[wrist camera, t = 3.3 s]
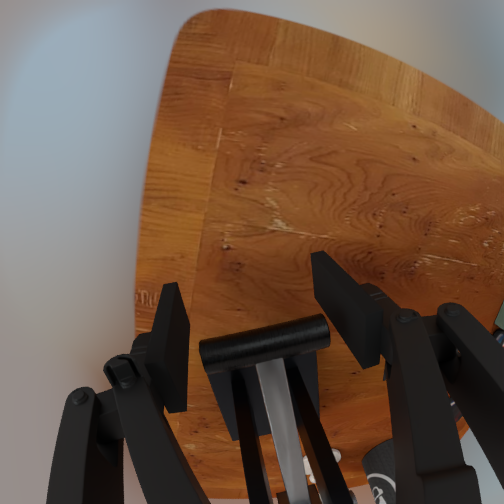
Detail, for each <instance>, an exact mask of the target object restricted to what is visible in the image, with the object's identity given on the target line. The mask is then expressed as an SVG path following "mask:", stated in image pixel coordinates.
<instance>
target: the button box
mask: <svg viewBox="0 0 504 504" xmlns="http://www.w3.org/2000/svg"><path fill="white" fill-rule="evenodd" d="M495 324H496V325H498V326H499V327H500V328H501V329H503V330H504V302H503V304H502V306H501V309H500V311H499V313H498V316H497V318H496V320H495Z"/></svg>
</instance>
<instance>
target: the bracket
mask: <svg viewBox="0 0 504 504" xmlns="http://www.w3.org/2000/svg"><path fill="white" fill-rule="evenodd" d="M199 344H200V342H199ZM199 353H200V346H199ZM200 356H201V354H200ZM283 360H284V365H285V370H286V375H287V380H288V385H289V390H290V396H291V401H292V406H293V411H294V416H295V421H296V426H297V429H298V432H299V435H300V438H301V441H302V444H303V447H304V450H305V453H306V456H307V459H308V461H309V464H310V467H311V470H312V473H313V476H314V479H315V482H316V485H317V488H318V491H319V494H320V497H321V499H322V502H323V504H357V500H356V497H355V495H354V493H353V492H352V491H351V490H348V487H347V485H346V482H345V480H344V478H343V475H342V473H341V470H340V468H339V466H338V463H337V461H336V458H335V456H334V453H333V451H332V449H331V446H330V444H329V441H328V439H327V437H326V434H325V432H324V429H323V427H322V424H321V422H320V413H319V391H318V372H317V356H316V351H313V352H309V353H305V354H301V355H297V356H293V357H289V358H285V359H283ZM207 376H208V378H209V381H210V384H211V387H212V389H213V392H214V395H215V397H216V400H217V403H218V405H219V408H220V411H221V413H222V416H223V418H224V421H225V423H226V426H227V428H228V431H229V433H230V436H231V438H232V441H236V440H239V442H240V448H241V455H242V461H243V467H244V473H245V479H246V485H247V491H248V497H249V502H250V504H273V499H272V495H271V491H270V486H269V482H268V477H267V473H266V468H265V464H264V459H263V455H262V450H261V446H260V441H259V436H262V435H267V434H271V429H270V425H269V421H268V417H267V412H266V408H265V404H264V400H263V396H262V391H261V387H260V383H259V378H258V374H257V370H256V365H255V366H251V367H246V368H241V369H236V370H231V371H226V372H221V373H215V374H210V375H208V374H207Z"/></svg>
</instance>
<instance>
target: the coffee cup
mask: <svg viewBox="0 0 504 504" xmlns="http://www.w3.org/2000/svg"><path fill="white" fill-rule="evenodd" d="M362 465H363V468H364V470H365V473H366V476H367V479H368V482H369V485H370V488H371V491H372V493H373V496H374V499H375V502H376V504H396V491H395V464H394V448H393V439H390V440H387V441H385V442H383V443H381V444H379V445H378V446H376V447H375V448H373V449H372V450H371V451H370V452H368V453H367V454H366V456H365V457H364V458H363V460H362Z"/></svg>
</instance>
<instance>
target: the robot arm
mask: <svg viewBox="0 0 504 504" xmlns="http://www.w3.org/2000/svg"><path fill="white" fill-rule="evenodd" d="M310 254H311V264H312V274H313V284H314V295H315V299H316V300H317V301H318V303H319V304H320V306H321V307H322V309H323V310H324V312H325V313H326V315H327V316H328V318H329V319H330V321H331V322H332V324H333V325H334V326H335V328H336V329H337V331H338V332H339V334H340V335H341V337H342V338H343V340H344V341H345V343H346V344H347V346H348V347H349V349H350V350H351V352H352V353H353V355H354V356H355V358H356V359H357V361H358V362H359V364H360V365H361V367H362V368H363V370H364V369H366V368H369V367H372V366H375V365H378V364H379V363H380V353H381V354H382V356H383V357H384V358H385V369H384V376H383V381H385V380H386V381H387V389H388V396H389V405H390V414H391V424H392V435H393V448H394V464H395V491H396V504H482V503H481V497H480V490H479V484H478V479H477V475H476V471H475V469H474V468H473V467H472V466H469V465H466V464H465V461H464V457H463V452H462V448H461V443H460V439H459V435H458V430H457V426H456V422H455V419H454V415H453V411H452V407H451V404H450V400H449V397H448V393H449V394H450V396H451V398H452V399H453V401H454V402H455V404H456V406H457V407H458V409H459V411H460V412H461V414H462V415H463V417H464V419H465V420H466V422H467V424H468V425H469V427H470V429H471V431H472V432H473V434H474V436H475V437H476V439H477V441H478V443H479V444H480V446H481V448H482V450H483V452H484V453H485V455H486V457H487V459H488V460H489V463H490V464H491V466H492V468H493V470H494V472H495V474H496V476H497V478H498V480H499V482H500V484H501V485H502V488H503V489H504V347H503V346H502V345H501V344H500V343H499V342H498V341H497V340H496V339H495V338H494V337H493V336H492V335H491V334H490V333H489V332H488V331H487V329H486V328H485V327H484V326H483V325H482V324H481V323H480V322H479V321H478V320H477V319H476V318H475V317H474V316H473V315H472V314H470V313H469V312H468V311H467V310H466V309H465V308H464V307H463V306H461V305H460V304H456V303H444V304H442V305H440V306H439V307H438V310H437V315H432V316H424V317H421V316H420V314H419V313H418V312H416V311H415V310H412V309H406V308H402V309H401V308H400V307H399V306H398V305H397V304H396V303H395V302H394V301H392V300H391V299H390V298H389V297H387V295H386V294H385V293H383V291H382V290H380V289H379V288H378V287H377V286H375V285H372V284H370V283H366V284H362V285H359V284H358V283H357V282H356V281H355V280H354V279H353V278H352V277H351V276H350V275H349V274H347V273H346V272H345V271H344V270H343V269H342V268H341V267H340V266H339V265H338V264H337V263H336V262H335V261H334V260H333V259H332V258H331V257H330V256H329V255H328V254H327V253H326V252H325V251H319V252H314V253H310ZM189 336H190V323H189V320H188V316H187V313H186V310H185V307H184V303H183V300H182V297H181V293H180V290H179V287H178V283H177V282H173V283H168V284H163V288H162V292H161V295H160V299H159V303H158V307H157V311H156V315H155V319H154V323H153V327H152V331H151V332H148V333H142V334H139V335H138V336H137V338H136V339H135V340H134V341H133V345H132V350H131V352H130V354H121V355H117V356H115V357H113V358H111V359H110V360H109V361H107V363H106V364H105V365H104V369H103V371H104V373H105V375H106V376H107V378H108V380H109V382H110V384H111V385H112V387H113V388H112V389H109V390H107V391H104V392H101V393H98V394H96V393H95V392H94V390H93V389H92V388H89V387H81V388H77V389H76V390H74V391H72V392H71V393H70V394H69V395H68V398H67V400H66V403H65V406H64V410H63V415H62V419H61V423H60V427H59V432H58V436H57V441H56V446H55V451H54V456H53V461H52V467H51V473H50V479H49V486H48V493H47V501H46V504H124V484H123V445H124V443H123V441H124V438H125V439H126V443H127V446H128V449H129V452H130V456H131V459H132V462H133V465H134V468H135V471H136V474H137V477H138V480H139V483H140V485H141V488H142V491H143V493H144V496H145V499H146V501H147V504H211V503H210V501H209V500H208V498H207V496H206V495H205V493H204V491H203V489H202V488H201V486H200V484H199V482H198V481H197V479H196V477H195V475H194V473H193V471H192V469H191V468H190V466H189V464H188V462H187V460H186V458H185V456H184V454H183V452H182V450H181V448H180V446H179V444H178V442H177V440H176V438H175V436H174V434H173V432H172V429H171V427H170V425H169V423H168V421H167V419H166V417H165V415H164V405H165V407H166V409H167V411H168V413H178V412H185V411H187V384H188V357H189ZM458 350H459V352H460V353H459V352H458ZM447 391H448V393H447Z"/></svg>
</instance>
